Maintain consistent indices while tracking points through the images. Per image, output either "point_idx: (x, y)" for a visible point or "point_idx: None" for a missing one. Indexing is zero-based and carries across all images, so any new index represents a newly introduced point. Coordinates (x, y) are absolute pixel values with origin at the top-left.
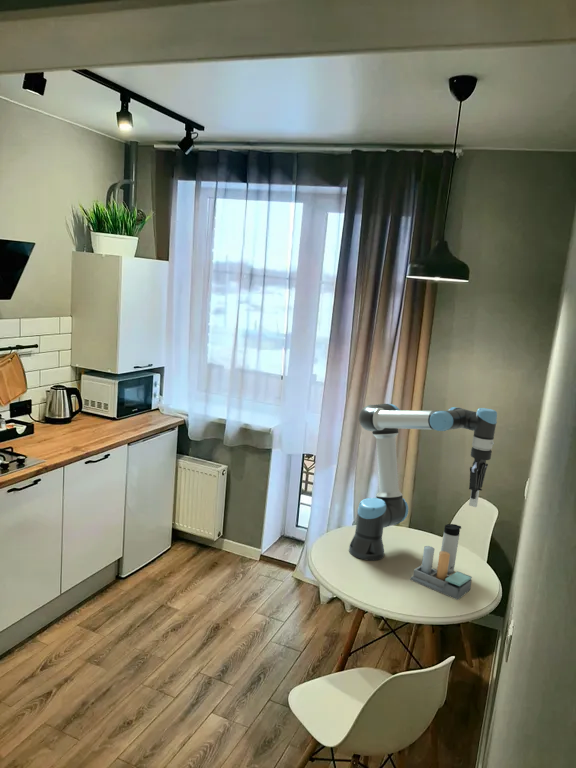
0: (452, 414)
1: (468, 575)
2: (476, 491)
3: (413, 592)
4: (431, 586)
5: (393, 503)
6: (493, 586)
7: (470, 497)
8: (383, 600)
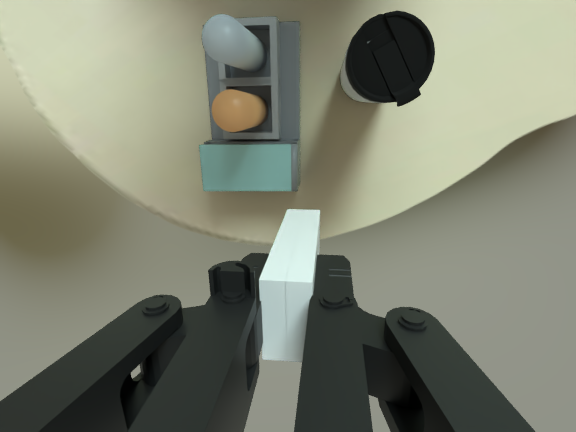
0: None
1: (294, 181)
2: (264, 339)
3: (149, 77)
4: (209, 102)
5: None
6: (374, 221)
7: (276, 239)
8: (43, 42)
